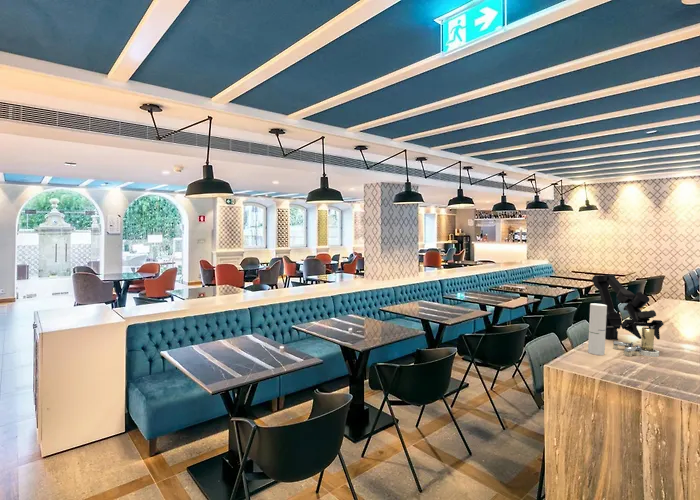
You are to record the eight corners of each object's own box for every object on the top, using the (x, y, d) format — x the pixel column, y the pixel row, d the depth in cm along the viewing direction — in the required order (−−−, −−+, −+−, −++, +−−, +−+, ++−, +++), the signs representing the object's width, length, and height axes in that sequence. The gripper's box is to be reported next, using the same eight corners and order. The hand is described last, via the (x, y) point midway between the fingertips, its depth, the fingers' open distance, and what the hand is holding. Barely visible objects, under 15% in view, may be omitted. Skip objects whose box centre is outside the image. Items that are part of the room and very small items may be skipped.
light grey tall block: (607, 355, 192) (609, 306, 191) (591, 354, 194) (593, 305, 193) (600, 351, 199) (603, 303, 198) (585, 350, 201) (587, 303, 200)
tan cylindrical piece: (637, 351, 200) (638, 327, 200) (648, 352, 200) (649, 327, 200) (645, 355, 195) (646, 329, 194) (656, 355, 195) (658, 330, 194)
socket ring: (641, 355, 194) (641, 351, 194) (632, 350, 203) (632, 346, 203) (663, 357, 192) (663, 353, 192) (652, 351, 201) (652, 348, 201)
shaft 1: (632, 350, 202) (632, 341, 202) (632, 351, 200) (632, 343, 200) (613, 347, 207) (613, 339, 207) (613, 348, 205) (613, 340, 205)
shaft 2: (635, 353, 197) (635, 344, 197) (641, 355, 194) (642, 346, 194) (623, 354, 195) (623, 345, 194) (629, 356, 192) (629, 347, 191)
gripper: (625, 303, 201) (640, 330, 190) (662, 304, 200) (678, 331, 190) (614, 315, 209) (628, 341, 198) (649, 316, 208) (664, 342, 198)
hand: (649, 338), depth 196 cm, fingers open, 9 cm apart
